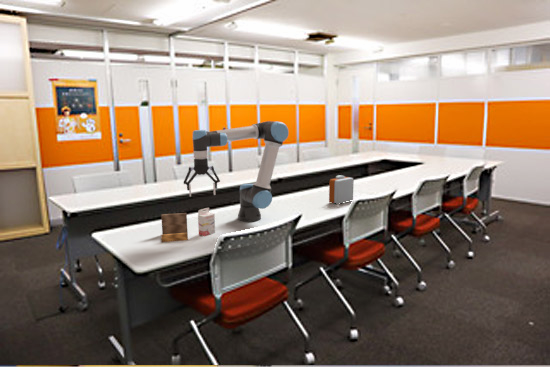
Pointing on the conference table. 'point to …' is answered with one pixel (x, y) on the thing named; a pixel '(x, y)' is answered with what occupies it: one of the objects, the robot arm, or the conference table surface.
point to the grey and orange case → (341, 189)
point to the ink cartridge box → (206, 222)
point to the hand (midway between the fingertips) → (202, 195)
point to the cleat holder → (174, 227)
